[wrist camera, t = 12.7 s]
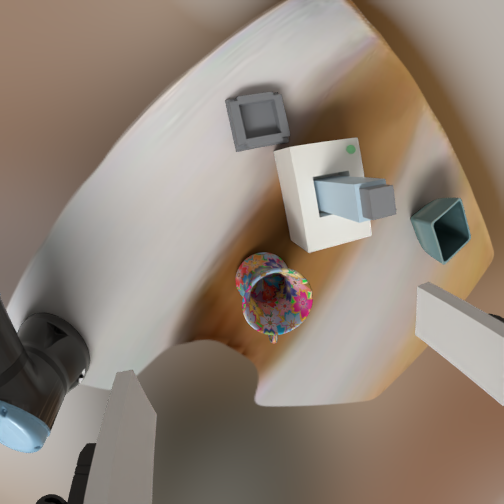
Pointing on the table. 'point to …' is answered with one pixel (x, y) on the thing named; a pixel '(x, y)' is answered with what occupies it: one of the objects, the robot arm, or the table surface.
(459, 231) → the flower pot
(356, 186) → the plug
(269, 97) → the holster
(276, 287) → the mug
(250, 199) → the table surface
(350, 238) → the port panel
